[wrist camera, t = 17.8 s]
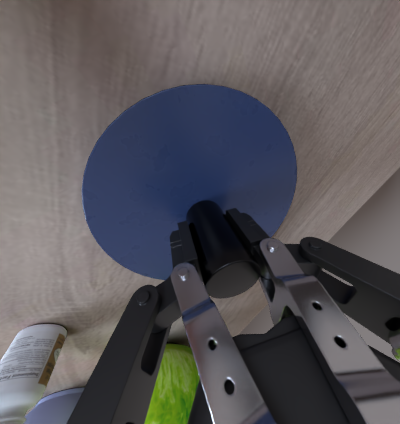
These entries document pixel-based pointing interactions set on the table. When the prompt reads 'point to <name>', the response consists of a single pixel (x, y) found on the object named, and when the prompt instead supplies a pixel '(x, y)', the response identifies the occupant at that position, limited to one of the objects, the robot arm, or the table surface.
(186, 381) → the lettuce
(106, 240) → the lid
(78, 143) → the table surface
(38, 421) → the bowl
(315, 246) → the robot arm
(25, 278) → the table surface
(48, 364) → the pill bottle
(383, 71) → the table surface
